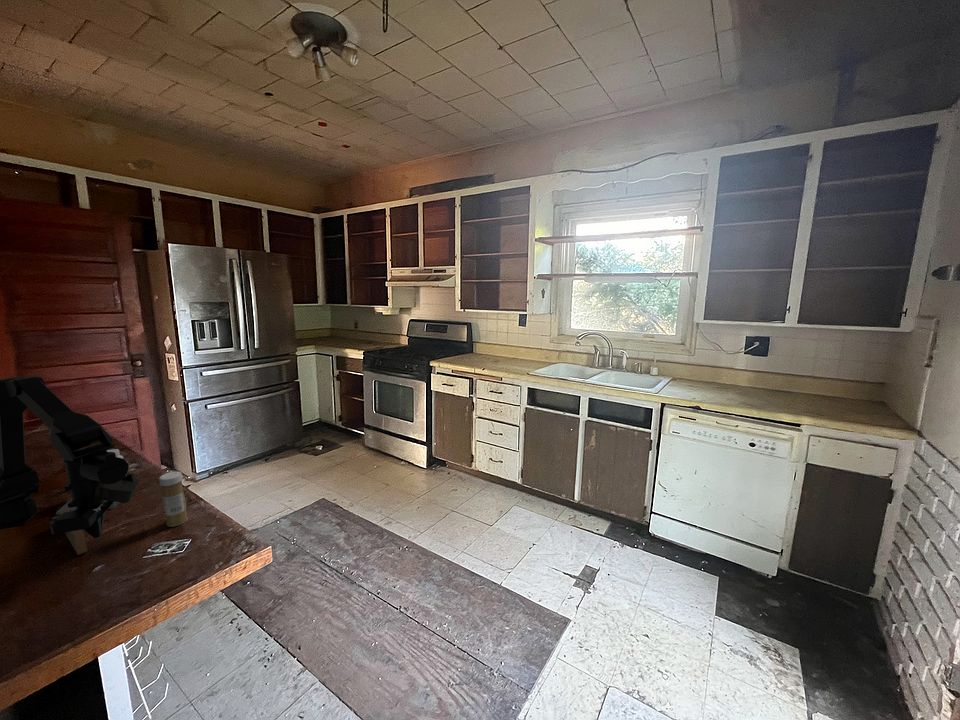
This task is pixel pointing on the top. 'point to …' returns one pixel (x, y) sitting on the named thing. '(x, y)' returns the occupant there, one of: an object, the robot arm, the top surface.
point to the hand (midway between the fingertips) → (97, 536)
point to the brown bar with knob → (74, 536)
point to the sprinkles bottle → (173, 498)
